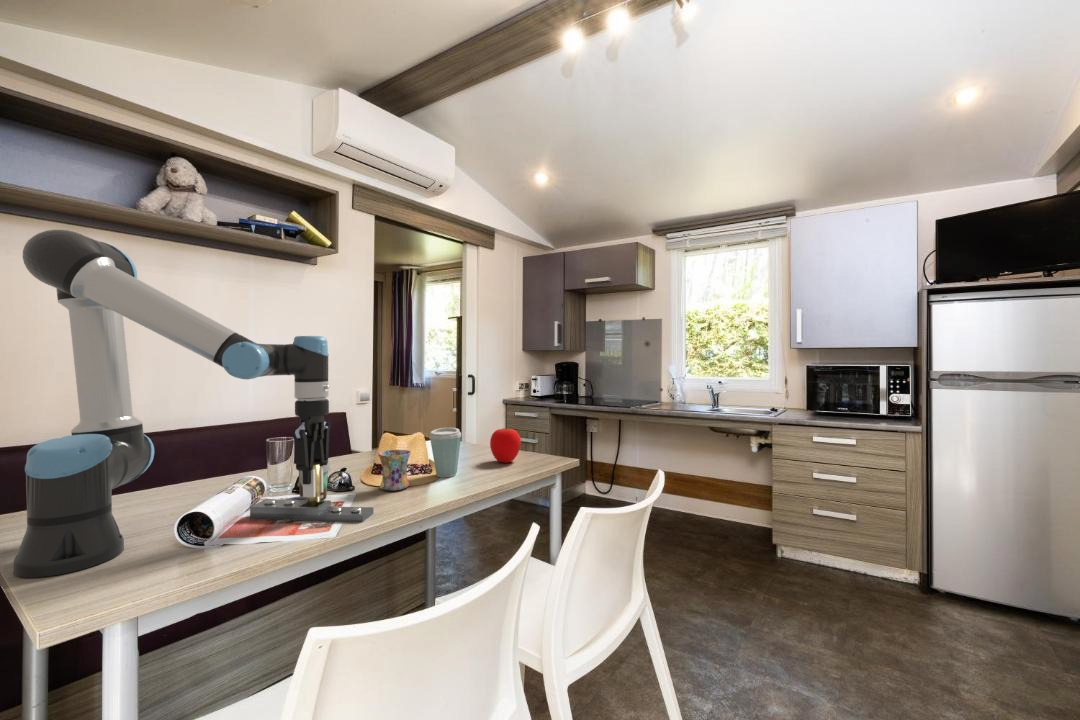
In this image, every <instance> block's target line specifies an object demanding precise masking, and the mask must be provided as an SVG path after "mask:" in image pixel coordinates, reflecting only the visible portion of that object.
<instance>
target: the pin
mask: <svg viewBox="0 0 1080 720" xmlns="http://www.w3.org/2000/svg"><path fill="white" fill-rule="evenodd" d="M312 470H315V497H307V507H317V506H319V505H320V464H313V469H312Z"/></svg>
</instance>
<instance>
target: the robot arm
mask: <svg viewBox="0 0 1080 720" xmlns="http://www.w3.org/2000/svg"><path fill="white" fill-rule="evenodd" d="M22 260H23V264H24V265H25V268H26V270H27V271H28V273H30V274H31V275H32V276H33V277H34V278H35V279H37V280H38V281H40V282H42V283H44V284H46V285H48V286H51V287H52V288H55V289H56V295H57V303H58V304H60V305H61V306H62V307H64V308H66V309H67V310H68V317H69V324H70V325H69V326H70V327H69V328H70V334H71V344H72V346H71V347H72V352H73V353H72V354H73V355H72V356H73V365H74V374H75V382H76V383H75V384H76V392H77V404H78V410H79V422H78V423H77V425H76V426H74V427H73V429H71V432H70V433H71V435H66V436H62V437H61V438H60V437H57V438H56V437H54V438H51V439H47V440H45V441H42V442H39V443H36V444H35V445H34V446H32V447H31V448H30V449H28V451H27V454H26V463H25V465H24V473H25V480H26V481H25V486H26V487H25V489H26V490H25V491H26V524H27V525H26V531H25V533H24V536H23V537H22V539H21V540H22V541H21V543H20V546H19V549H18V553H17V554H16V555H15V557H14V559H13V565H12V566H13V574H14V576H16V577H19V578H33V579H34V578H43V577H44V578H45V577H46V578H47V577H52V576H59V575H63V574H69V573H72V572H76V571H81V570H84V569H87V568H92V567H94V566H95V567H96V566H97V565H100V564H103V563H105V562H108V561H110V560H112V559H114V558H116V557H118V556H119V555H121V554H122V553H123V551H124V550H125V549H124V548H125V544H124V543H125V541H124V540H125V539H124V536H123V534H122V533H120V528H119V526H118V524H117V522H116V519H115V517H114V514H113V507H112V505H113V504H112V501H113V500H112V499H113V497H112V495H113V494H112V490H114V489H116V488H119V487H120V486H123V485H126V484H128V483H131V482H133V481H134V480H135V479H138V478H139V477H140V476H141V475H142V474H144V473H145V472H146V471H147V470H148V468H149V467H150V466H151V464H152V463H153V461H154V456H155V446H154V443H153V442H152V439H151V438H150V437H149V436H147V434H145V433H144V428H143V427H144V426H143V421H141V420H140V419H138V418H137V417H135V415H134V413H133V405H132V394H131V384H130V376H129V363H128V354H127V344H126V335H125V334H126V332H125V327H124V326H125V325H124V317H125V318H126V319H129V320H130V321H133V322H134V323H137V324H138V325H140V326H142V327H144V328H145V329H146V328H147V329H148V330H149V331H152V332H154V333H156V334H158V335H159V336H162V337H164V338H165V339H168V340H170V341H171V342H173V343H175V344H177V345H180V346H182V347H183V348H185V349H187V350H189V351H192V352H193V353H195V354H197V355H198V356H201V357H203V358H204V359H207V360H209V361H211V362H212V363H214V364H215V365H218V366H220V367H222V368H223V369H224V371H225V372H226V373H228V375H230V376H231V377H233V378H235V379H236V378H237V379H241V380H252V379H253V380H254V379H256V378H259V377H261V378H262V377H269V376H271V377H272V376H294V379H293V380H294V382H293V383H294V398H295V399H296V400H295V402H294V415H295V416H296V417H299V422H298V423H299V424H298V426H299V427H298V428H297V429H292V430H291V435H292V437H293V442H294V456H295V457H294V458H295V468H296V470H297V471H298V472H299V471H302V472H303V497H315V470H312V469H313V464H320V493H322V492H323V465H327V463H328V462H329V454H330V453H329V450H330V448H329V446H330V430H331V422H330V421H328V422H327V421H325V415H328V414H329V413H330V402H329V401H330V400H329V399H328V397H329V389H330V385H329V349H328V348H329V347H328V340H327V338H326V337H325V336H323V335H322V336H321V335H320V336H319V335H297V336H295V337H294V338H293V342H292V343H289V344H282V343H281V344H279V343H278V344H275V343H274V344H273V343H271V344H270V343H267V344H266V343H257V342H255V341H253V340H251V339H249V338H247V337H246V336H244V335H242V334H239V333H238V332H236V331H234V330H232V329H231V328H228V327H226V326H224V325H223V324H221V323H219V322H217V321H215V320H213V319H212V318H210V317H208V316H207V315H205V314H203V313H201V312H199V311H198V310H195V309H194V308H191V306H188V305H186V304H185V303H182V302H180V301H178V300H177V299H175V298H173V297H171V296H169V295H167V294H166V293H164V292H162V291H160V290H158V289H156V288H154V287H152V285H149V284H147V283H145V282H143V281H142V280H140V279H138V271H137V267H136V266H135V263H134V261H133V260H132V259H131V258H130V257H129V256H128V254H126V253H125V252H123V251H122V250H120V249H119V248H118V247H116V246H114V245H112V244H109V243H106V242H105V241H104V242H103V241H99V240H96V239H93V238H92V237H89V236H86V235H85V234H84V235H83V234H81V233H79V232H76V231H73V230H68V229H48V230H44V231H41V232H39V233H38V232H37V233H36V234H34V235H33V236H32V237H31V238H29V239H28V240H27V241H26V243H25V245H24V246H23V249H22ZM325 461H328V462H325Z"/></svg>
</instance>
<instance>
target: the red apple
mask: <svg viewBox="0 0 1080 720" xmlns="http://www.w3.org/2000/svg"><path fill="white" fill-rule="evenodd" d="M489 440H490V441H489V448H490V451H491V453H492V456H493V458H494V459H496V461H498V462H499V463H503V464H509V463H511V462H513V461H514V460H515V459H516V457H517V456H518V454H519V452H520V449H521V445H522V444H521V443H522V439H521V436H520V434H519V433H518V431H517V430H516V429H514V428H509V427H507V426H505V428H499V429H496V430H494V432H493V433H492V434H491V436H490V439H489Z"/></svg>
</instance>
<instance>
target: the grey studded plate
mask: <svg viewBox="0 0 1080 720" xmlns="http://www.w3.org/2000/svg"><path fill="white" fill-rule="evenodd" d="M373 514H374V506H373V507H371V506H369V507H368V506H366V507H365V506H332V501H331V500H326V499H325V500H320V505H319V506H317V507H307V500H306V499H274V498H273V499H270V498H269V499H268V498H266V499H265V498H264V499H263V500H261V501H259V502H257V503H255V504H253V505H251V506H249V519H250V520H268V521H270V520H271V521H273V520H274V521H305V522H306V521H316V522H350V523H351V522H355V523H357V522H359V523H363V522H365V521H366V520H367V519H369V518H370V516H372V515H373Z"/></svg>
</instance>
